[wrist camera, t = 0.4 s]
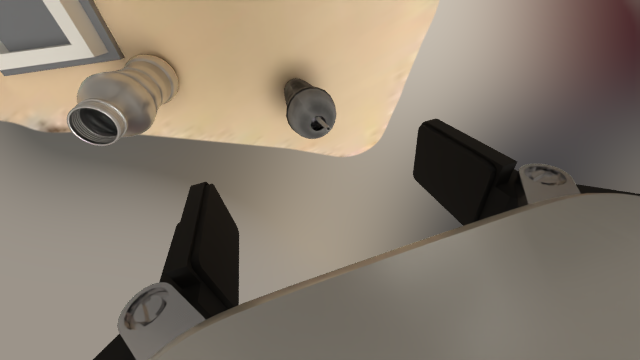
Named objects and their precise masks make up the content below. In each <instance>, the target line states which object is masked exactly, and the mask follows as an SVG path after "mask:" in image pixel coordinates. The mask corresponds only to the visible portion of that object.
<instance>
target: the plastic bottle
mask: <svg viewBox="0 0 640 360" xmlns="http://www.w3.org/2000/svg"><path fill="white" fill-rule="evenodd" d="M177 91H178V78H177V75H176V73H175V71H174V70H173V68H172V67H171V66H170V65H169V64H168V63H167V62H166V61H164V60H163V59H161V58H159V57H156V56H152V55H138V56H135V57H133V58H131V59H130V60H129V61H128V62H127V63H126V65H125V67H124V68H123V69H121V70H118V71H111V72H102V73H98V74H94V75H91V76H89V77H87V78H86V79H85V80H84V81H83V82H82V84H81V86H80V87H79V90H78V93H77V103H78V104H77V105H76V107H75V108H73V109H72V110H71V111H70V112H69V114H68V116H67V124H68V126H69V128H70V130H71V131H72V132H73V134H74V135H75V136H77V137H78V138H79V139H81V140H82V141H84V142H86V143H89V144H92V145H97V146H107V145H110V144H113V143H114V142H116V141H117V140H118V139H119V138H121V137H130V136H134V135H138V134H141V133H143V132H145V131H147V130H148V129H149V128H150V127H151V125H152V124H153V122H154V120H155V117H156V113H157V110H158V109H159V107H160V106H161V105H162V104H165V103H167V102H169V101H171V100H172V99H173V98H174V97H175V96H176V94H177Z"/></svg>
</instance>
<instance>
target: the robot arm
mask: <svg viewBox="0 0 640 360" xmlns="http://www.w3.org/2000/svg"><path fill="white" fill-rule="evenodd" d="M516 163H517V162H516V161H515V160H513V159H511V158H510V157H508V156H506V155H504V154H502V153H500V152H498V151H496V150H494V149H493V148H491V147H489V146H487V145H485V144H483V143H481V142H480V141H478V140H476V139H474V138H472V137H470V136H468V135H467V134H465V133H463V132H461V131H459V130H457V129H455V128H453V127H452V126H450V125H448V124H446V123H444V122H442V121H440V120H439V119H433V120H429V121H425V122H423V123H422V125H421V126H420V127H419V130H418V137H417V145H416V154H415V162H414V170H413V175H414V178H415V180H416V181H417V182H418V183H419V184H420V185H421V186H422V187H423V188H424V189H426V190H427V191H428V192H429V193H430V194H431V195H432V196H433V197H434V198H435V199H436V200H437V201H438V202H439V203H440V204H441V205H442V206H443V207H444V208H445V209H447V210H448V211H449V212H450V213H451V214H452V215H453V216H454V217H455V218H456V219H457V220H458V221H459V222H460V223H461V224H462V225H463V226H462V227H459V228H456V229H453V230H450V231H447V232H444V233H441V234H438V235H435V236H432V237H430V238H426V239H423V240H420V241H418V242H415V243H412V244H409V245H406V246H403V247H401V248H397V249H394V250H392V251H389V252H386V253H383V254H380V255H377V256H374V257H371V258H368V259H366V260H363V261H360V262H357V263H354V264H351V265H348V266H346V267H343V268H340V269H337V270H334V271H331V272H329V273H326V274H323V275H320V276H317V277H315V278H312V279H309V280H306V281H303V282H300V283H297V284H294V285H292V286H289V287H286V288H283V289H281V290H278V291H275V292H273V293H270V294H267V295H264V296H262V297H259V298H256V299H254V300H251V301H248V302H245V303H243V304H241V305H238V303H239V290H238V289H239V231H238V228H237V226H236V224H235V222H234V220H233V218H232V217H231V215H230V213H229V211H228V209H227V208H226V206H225V205H224V202H223V200H222V199H221V197H220V195H219V193H218V192H217V190H216V188H215V186H214V185H213V184H210V185H209V184H208V183H207V182H203V183H200V184H196V185H193V186H191V187H190V190H189V194H188V197H187V200H186V204H185V207H184V211H183V214H182V218H181V221H180V223H178V224H177V226H176V229H175V233H174V236H173V239H172V242H171V246H170V250H169V252H168V256H167V259H166V262H165V266H164V269H163V272H162V276H161V279H160V282H159V283H155V284H152V285H150V286H148V287H146V288H144V289H143V290H141V291H140V292H139V293H137V294H136V295H135V296H134V297H133V298H132V299H131V300H130V301H129V302H128V303H127V305H126V306H125V307H124V309H123V310H122V312H121V314H120V316H119V319H118V325H117V326H118V330H119V333H120V334H119V335H118V336H117V337H116V338H115V339H114V340H113V341H112V342H111V343H110V344H108V345H107V347H105V348H104V349H103V350H102V352H100V353H99V354H98V355H97V356H96V357H95V358H94V359H93V360H640V194H635V193H630V192H623V191H616V190H610V189H603V188H597V187H590V186H584V185H577V184H575V182H574V180H573V179H572V177H571V176H570V175H569V174H568V173H566V172H564V171H563V170H561V169H559V168H556V167H553V166H549V165H544V164H527V165H524V166H522V167H521V168H520V169H519V171H516V170H514V168H515V166H516Z"/></svg>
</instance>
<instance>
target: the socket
mask: <svg viewBox="0 0 640 360" xmlns="http://www.w3.org/2000/svg"><path fill="white" fill-rule="evenodd" d="M123 58H124V56H123V54H122V52H121V51H120V49H119V47H118V45H117V43H116V42H115V40H114V38H113V36H112V34H111V33H110V31H109V29H108V27H107V25H106V23H105V22H104V20H103V18H102V16H101V14H100V13H99V11H98V9H97V7H96V5H95V4H94V2H93V0H0V71H1V73H2V74H3V75H4V76H9V75H16V74H23V73H29V72H36V71H43V70H50V69H57V68H64V67H71V66H78V65H85V64H92V63H99V62H105V61H112V60H119V59H123Z"/></svg>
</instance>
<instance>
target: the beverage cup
mask: <svg viewBox="0 0 640 360" xmlns="http://www.w3.org/2000/svg"><path fill="white" fill-rule="evenodd" d="M284 94H285V100H286V105H287V113H286V117H287V120H288V124H289V125H290V126H291V128H292V129H293V130H294V131H295V132H296V133H298V134H299V135H301V136H302V137H305V138H309V139H316V138H320V137H323V136H324V135H326V134H327V133H328V132H329V131H330V130H331V129H332V127H333V125H334V123H335V119H336V109H335V105H334V102H333V100H332V98H331V96H330V95H329V94H328V93H327V92H326V91H325V90H322V89H320V88H317V87H313V86H312V85H310V84H309V83H307V82H305V81H303V80H301V79H296V78H295V79H292V80H290V81H289V82H288V83H287V84H286V86H285V89H284Z"/></svg>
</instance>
